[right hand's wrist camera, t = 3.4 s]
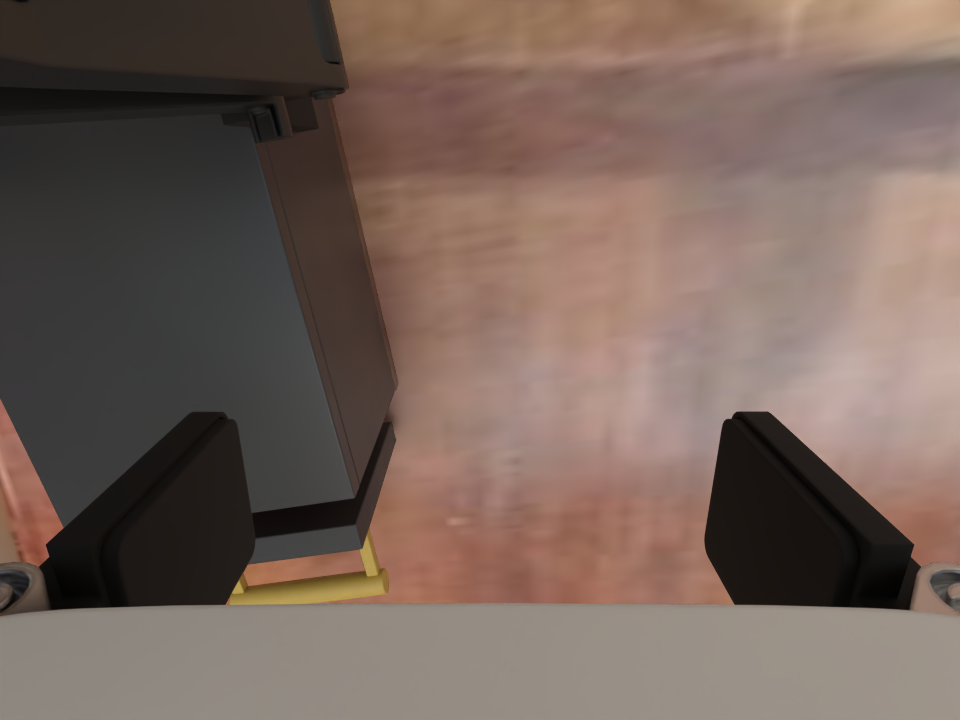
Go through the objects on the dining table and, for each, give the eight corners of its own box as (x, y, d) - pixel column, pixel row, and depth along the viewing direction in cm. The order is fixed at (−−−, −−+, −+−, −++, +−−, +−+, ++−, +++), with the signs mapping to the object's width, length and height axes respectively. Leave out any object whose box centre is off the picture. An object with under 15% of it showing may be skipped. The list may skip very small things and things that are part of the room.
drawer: (418, 530, 34) (395, 661, 25) (254, 552, 34) (176, 688, 26) (319, 125, 26) (238, 113, 18) (112, 163, 27) (-65, 170, 18)
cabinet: (398, 383, 31) (355, 499, 21) (202, 414, 32) (68, 539, 22) (314, 25, 26) (198, -58, 15) (77, 72, 26) (-187, 23, 16)
